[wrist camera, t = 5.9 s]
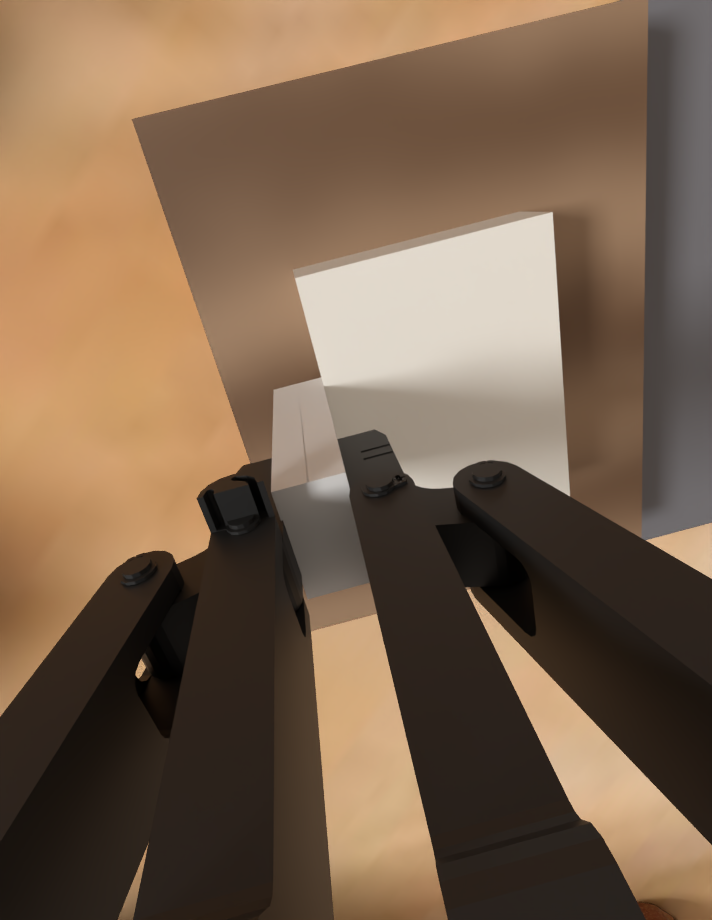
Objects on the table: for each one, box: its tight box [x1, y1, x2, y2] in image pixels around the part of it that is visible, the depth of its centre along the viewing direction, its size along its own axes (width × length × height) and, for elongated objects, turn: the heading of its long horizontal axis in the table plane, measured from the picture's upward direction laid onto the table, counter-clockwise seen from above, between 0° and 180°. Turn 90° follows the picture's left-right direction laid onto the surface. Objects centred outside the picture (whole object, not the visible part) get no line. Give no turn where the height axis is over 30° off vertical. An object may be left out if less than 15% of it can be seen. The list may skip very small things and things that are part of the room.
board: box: [132, 0, 648, 631], centre depth 20 cm, size 18×14×3 cm
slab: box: [293, 212, 570, 496], centre depth 17 cm, size 9×7×2 cm
